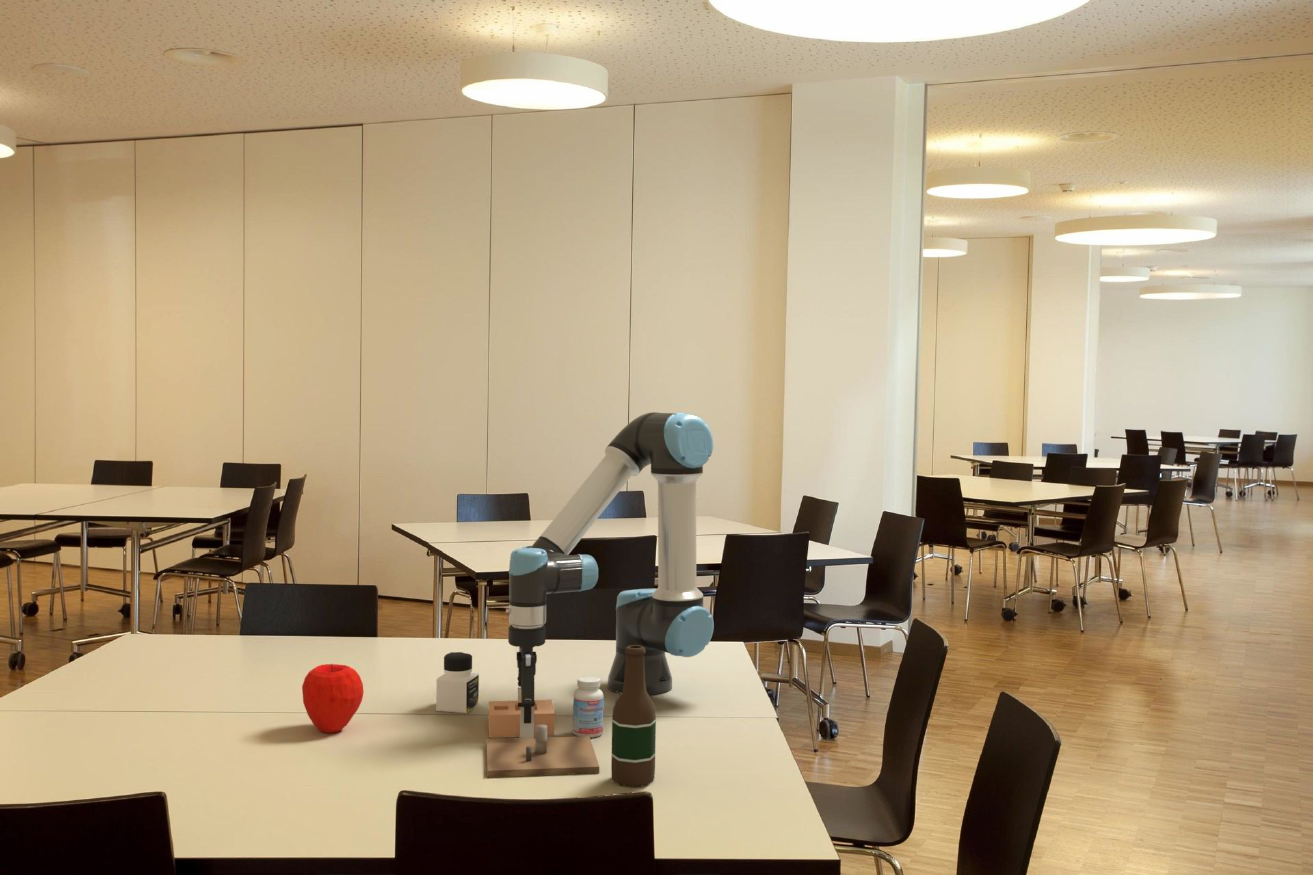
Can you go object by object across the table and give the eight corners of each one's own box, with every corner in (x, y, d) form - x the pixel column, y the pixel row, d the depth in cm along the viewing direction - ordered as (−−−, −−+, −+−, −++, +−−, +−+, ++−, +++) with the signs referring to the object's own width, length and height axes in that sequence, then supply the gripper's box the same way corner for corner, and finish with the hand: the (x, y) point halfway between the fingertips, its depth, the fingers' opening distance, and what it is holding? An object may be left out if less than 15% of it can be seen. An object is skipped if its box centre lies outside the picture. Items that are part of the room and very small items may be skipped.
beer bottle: (610, 772, 200) (612, 641, 199) (653, 772, 201) (655, 641, 200) (612, 788, 192) (614, 651, 191) (656, 787, 193) (659, 651, 192)
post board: (589, 742, 217) (589, 710, 217) (599, 772, 200) (599, 739, 200) (486, 745, 214) (487, 713, 214) (487, 777, 197) (487, 742, 196)
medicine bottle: (467, 713, 235) (467, 658, 235) (435, 711, 237) (436, 655, 236) (479, 704, 242) (479, 650, 242) (448, 702, 244) (449, 648, 243)
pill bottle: (580, 740, 219) (581, 684, 218) (568, 731, 224) (568, 676, 224) (607, 736, 221) (608, 680, 221) (595, 728, 227) (596, 673, 226)
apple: (374, 725, 226) (374, 660, 226) (340, 741, 215) (340, 673, 215) (325, 718, 230) (325, 655, 230) (289, 734, 219) (289, 667, 218)
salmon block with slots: (551, 720, 231) (551, 699, 231) (554, 735, 221) (554, 713, 221) (488, 722, 229) (488, 701, 229) (489, 737, 219) (489, 715, 219)
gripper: (506, 613, 236) (505, 711, 237) (510, 638, 212) (508, 747, 212) (542, 612, 238) (540, 710, 238) (549, 637, 213) (547, 746, 214)
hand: (525, 728), depth 225 cm, fingers open, 13 cm apart
